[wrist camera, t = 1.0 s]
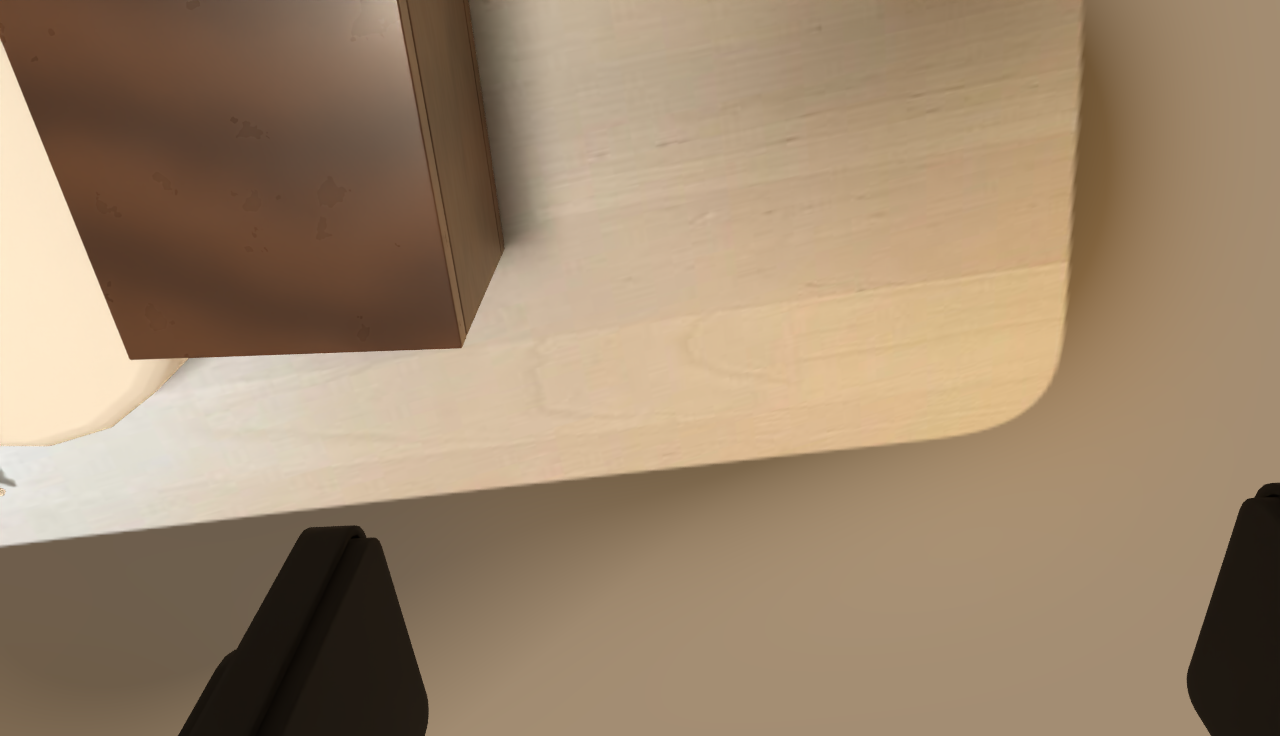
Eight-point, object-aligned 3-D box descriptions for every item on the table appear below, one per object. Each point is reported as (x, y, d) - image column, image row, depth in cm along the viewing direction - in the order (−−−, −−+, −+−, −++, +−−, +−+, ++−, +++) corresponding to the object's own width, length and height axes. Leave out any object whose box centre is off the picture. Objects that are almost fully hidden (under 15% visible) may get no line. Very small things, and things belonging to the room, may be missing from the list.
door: (-60, -162, 23) (-228, -166, 19) (372, -194, 22) (299, -206, 18) (141, 349, 31) (54, 429, 27) (467, 337, 30) (432, 417, 26)
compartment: (115, -131, 30) (-45, -127, 24) (446, -154, 30) (378, -158, 23) (237, 260, 38) (142, 348, 31) (505, 249, 37) (467, 336, 30)
